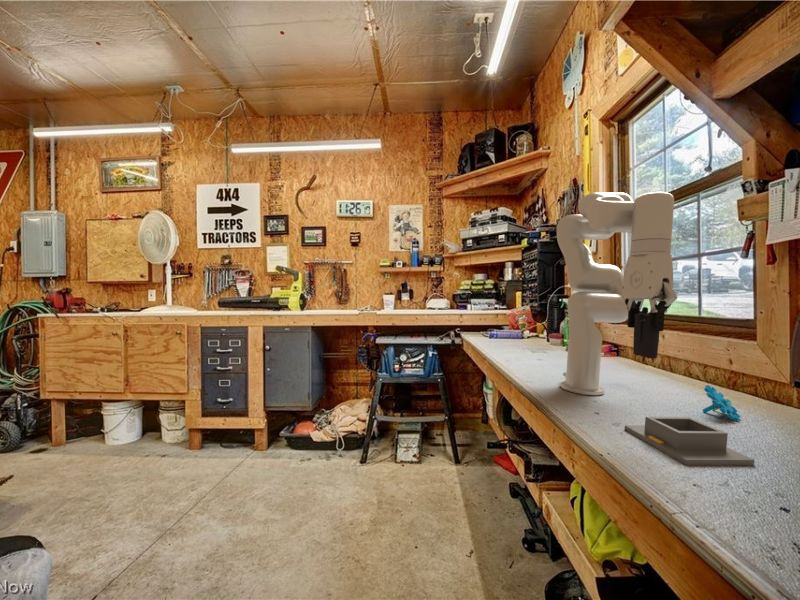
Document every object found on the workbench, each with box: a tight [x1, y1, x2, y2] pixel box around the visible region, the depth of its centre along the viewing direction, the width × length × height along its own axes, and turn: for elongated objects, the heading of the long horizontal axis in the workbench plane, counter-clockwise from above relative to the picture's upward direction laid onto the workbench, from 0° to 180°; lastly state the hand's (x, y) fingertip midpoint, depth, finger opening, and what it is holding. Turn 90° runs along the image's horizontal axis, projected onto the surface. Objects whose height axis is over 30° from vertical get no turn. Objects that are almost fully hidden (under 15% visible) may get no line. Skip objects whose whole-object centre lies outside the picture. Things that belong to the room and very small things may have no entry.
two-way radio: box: [632, 296, 661, 359], centre depth 80 cm, size 6×4×15 cm
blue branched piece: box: [701, 384, 741, 422], centre depth 95 cm, size 11×6×10 cm
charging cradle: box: [624, 416, 755, 466], centre depth 74 cm, size 16×14×4 cm
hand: (644, 328), depth 80 cm, fingers closed on two-way radio, 5 cm apart
